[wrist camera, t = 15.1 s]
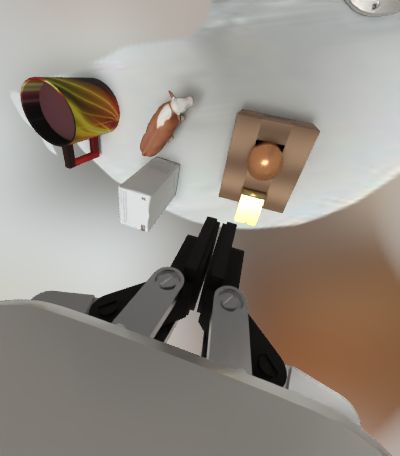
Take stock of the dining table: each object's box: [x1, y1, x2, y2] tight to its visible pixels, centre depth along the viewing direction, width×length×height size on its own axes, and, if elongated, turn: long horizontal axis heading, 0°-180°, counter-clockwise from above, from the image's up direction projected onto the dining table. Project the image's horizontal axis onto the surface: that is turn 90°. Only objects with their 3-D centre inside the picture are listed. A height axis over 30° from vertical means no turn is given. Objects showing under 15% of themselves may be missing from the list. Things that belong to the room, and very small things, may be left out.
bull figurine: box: [140, 91, 194, 157], centre depth 37 cm, size 4×13×8 cm, turn 136°
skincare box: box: [118, 157, 180, 232], centre depth 41 cm, size 8×6×15 cm
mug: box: [21, 77, 120, 168], centre depth 39 cm, size 10×14×12 cm
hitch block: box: [219, 110, 320, 213], centre depth 37 cm, size 14×12×6 cm
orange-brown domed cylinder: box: [247, 141, 283, 181], centre depth 34 cm, size 5×5×8 cm
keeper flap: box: [234, 188, 267, 226], centre depth 38 cm, size 6×4×1 cm
